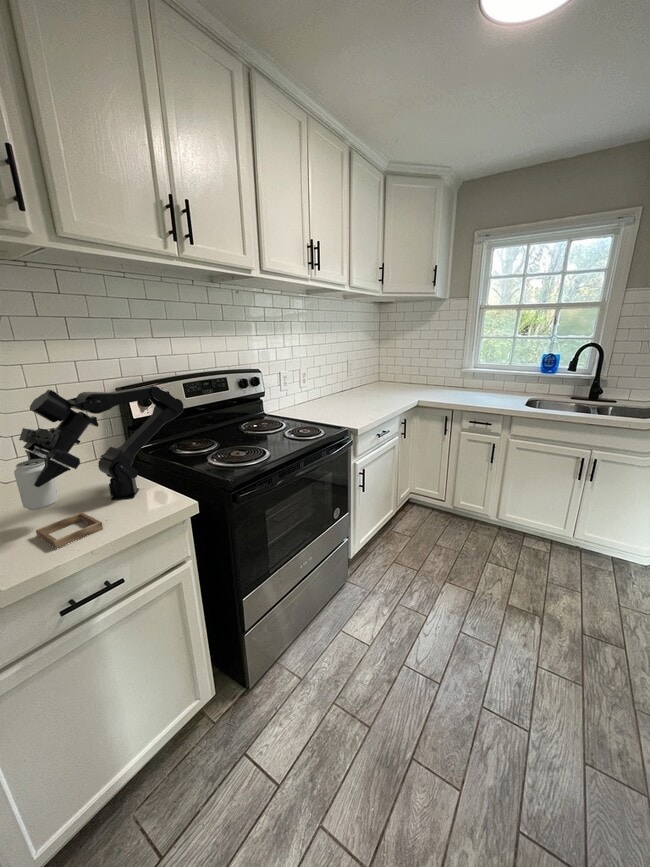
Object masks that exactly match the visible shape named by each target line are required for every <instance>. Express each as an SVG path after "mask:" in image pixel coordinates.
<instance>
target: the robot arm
mask: <svg viewBox="0 0 650 867" xmlns="http://www.w3.org/2000/svg"><path fill="white" fill-rule="evenodd" d="M145 400H146V401H147V400H149V401H150V402H151V403H152V404H153V405H154V407H153V410H152V414H151V415H150V416H149V417H148V418H147V419H146V420H145V421H144V422H143V424H142V425H140V426H139V428H137V429H136V431H134V433H132V435H131V436H130V437H129V438H128V439H127V440H126V441H124V443H123V444H121V445H120V446H118V447H113V446H110V447H108V449H107V450H106V451H105V453H103V454H100V456H99V457H100V459H99V461H98V462H97V464H98V469H99V470H100V472H101V473H103V474H105V475H106V477H108V478H110V479H109V484H108V487H109V492H110V496H111V498H110V500H111V501H114V500H115V501H116V500H124V499H133V498H135V496H137V494H138V492H139V491H140V488H139V487H138V486H137V481H136V478H138V473H139V470H138V469H136V468H134V467H132V465H133V463H134V459H135V456H136V455H137V453H139V451H140V450H142V448H144V447H145V445H146V444H147V443H148V442H149V441H150V440H151V438H153V436H155V434H156V433H157V432H159V430H160V429H161V428H162V427H163V426H164V425H165V424H166V423H168V422H170V421H172V420H174V419H176V418H177V417H179V416H180V415H181V414H182V413H183V412H184V409H185V408H184V403H183V401H182V400H181V399H179V398H175V397H174V396H173V395H170V394H169V393H168V392H166V391H164V390H162V389H161V388H160V387H158V386H156V385H144V386H140V387H134V388H128V389H121V390H117V391H116V390H115V391H109V392H107V391H106V392H105V391H83V392H80V393H78V395H76V397H74V398H69V399H65V398H64V397H62V396H61V395H59V394H58V393H57V392H55V391H54V390H52V389H47V390H46V391H45V392H44V393H41V394H40V395H39V396H38V397H36V398H34V400H33V401H32V402H31V404H30V406H29V410H30V411H31V412H33V413H34V414H36V415H38V416H40V417H42V418H44V419H45V420H47V421H49V422H51V423H56V422H60V423H59V424H58V425H57V426H56V428H50V429H46V428H41V427H38V428H37V429H32V428H25V427H22V429H21V433H20V435H19V439H18V440H19V441H21V442H23V443H25V444H24V445H23V447H22V448H24V449H25V450H24V451H25V453H26V456H27V458H28V459H27V461H28V460H33V459H44V462H45V466H44V468H43V470H42V472H41V473H40V475H39V477H38V478H37V480H36V482H35V484H34V486H36V487H40V486H42V485H43V484H45V483H47V482H48V481H50V480H52V479H53V478H54V479H55V478H57V477H59V476H61V475H62V474H64V473H66V472H68V471H71V469H74V470H77V469H78V467H79V466H80V464H81V459H80V458H79V457H77V456H76V455H73V454H72V453H70V451H71V450H72V448H73V447H74V446H75V444H76V445H79V444H80V443H81V440H80V438H81V436H82V435H83V433H84V432H85V431H86V430H87V428H88V427H89V426H92V427H99V425H100V424H99V422H98V417H97V416H93V415H92V416H90V415H89V414H94V415H97V414H102V413H104V412H106V411H109V410H112V409H113V408H115V407H117V406H119V405H125V404H130V403H136V402H141V401H145ZM75 409H76V410H79V411H78V412H77V411H75ZM86 413H89V414H86Z"/></svg>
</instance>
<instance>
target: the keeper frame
mask: <svg viewBox="0 0 650 867" xmlns="http://www.w3.org/2000/svg"><path fill="white" fill-rule="evenodd" d="M79 522H83V523H85V524H87V525H88V526H86V527H84V528H81V529H78V530H76V531H73V532H72V533H70V534H66V535H64V536H62V537H60V538H55V537H54V536H52V535H51V534H52V533H55V532H57V531H59V530H62V529H64V528H67V527H69V526H72V525H74V524H77V523H79ZM103 526H104V525H103V522H102V521H100V520H99V519H96V518H94V517H92V516H90V515H88V514H86V513H84V512H79V513H75V514H73V515H71V516H68V517H65V518H63V519H60V520H58V521H56V522H52V523H50V524H48V525H44V526H42V527H40V528H37V529H35V534H36V536H37V538H38V539H40V540H41V539H42V541H43V542H44V541H45V542H44V543H45V544H47V543H48V544H47V545H49V544H50V545H51V547H52V546H53V547H54V548H53V547H52V548H53V549H55V548H56V549H57V548H59V547H61V548H63V547H62V546H64V545H66V544H68V543H70V544H72V543H71V542H73V541H75V540H77V541H79V540H81V538H82V539H84V538H86V537H88V536H87V535H89V536H90V534H91V535H93V534H95V533H98V532H99V530H100V531H102V530H104V527H103ZM97 531H98V532H97ZM85 536H86V537H85ZM83 537H84V538H83ZM78 539H79V540H78ZM75 542H76V541H75ZM73 543H74V542H73ZM50 545H49V546H50ZM68 545H69V544H68ZM66 546H67V545H66ZM64 547H65V546H64ZM56 549H55V550H56ZM59 549H60V548H59ZM57 550H58V549H57Z"/></svg>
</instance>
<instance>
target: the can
mask: <svg viewBox="0 0 650 867" xmlns="http://www.w3.org/2000/svg"><path fill="white" fill-rule="evenodd" d="M44 466H45V462H44V459H33V460H28V459H27V460H24V461H22V462H19V463H17V464H16V465H15V469H14V471H13V474H14V479H15V481H16V486H17V489H18V493H19V496H20V500H21V504H22V507H23V509H28V510H29V511H38V510H39V511H40V510H43V509H44V510H45V509H47V508H49V507H51V506H53V505H55V504H56V503H57V501H59V499H60V496H59V493H58V489H57V484H56V480H55V478H53V479H52V480H50V481H48V482H47V483H45V484H43V485H42V486H40V487H36V486H34V484H35V482H36V480H37V478H38V477H39V475H40V473H41V472H42V470H43V468H44Z"/></svg>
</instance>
